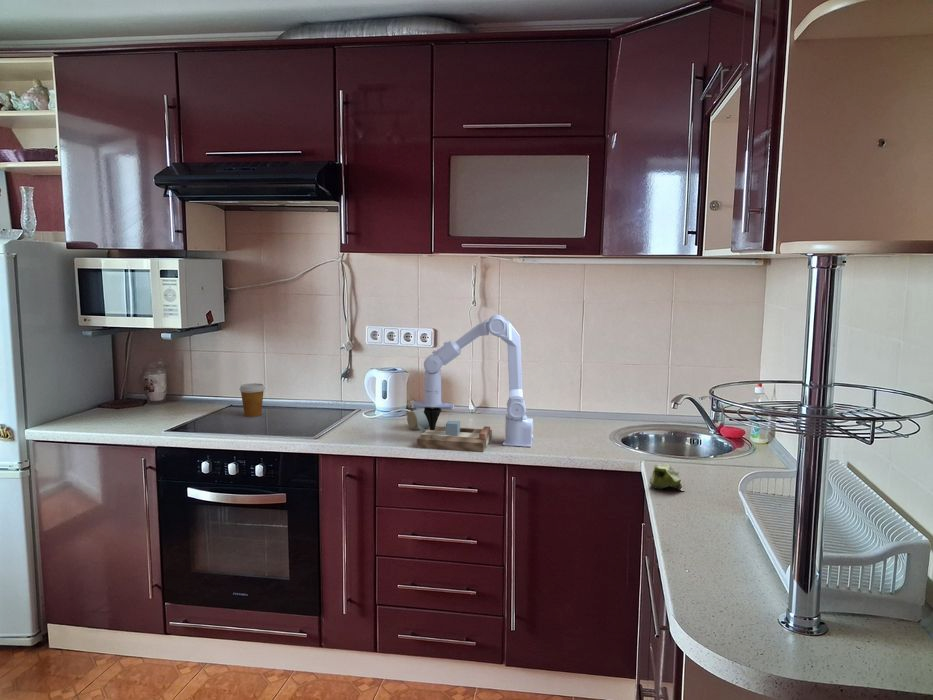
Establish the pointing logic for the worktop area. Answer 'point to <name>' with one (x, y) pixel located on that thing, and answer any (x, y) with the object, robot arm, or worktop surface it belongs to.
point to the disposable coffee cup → (252, 398)
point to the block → (453, 428)
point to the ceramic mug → (417, 420)
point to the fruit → (665, 477)
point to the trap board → (456, 439)
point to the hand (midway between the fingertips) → (432, 429)
